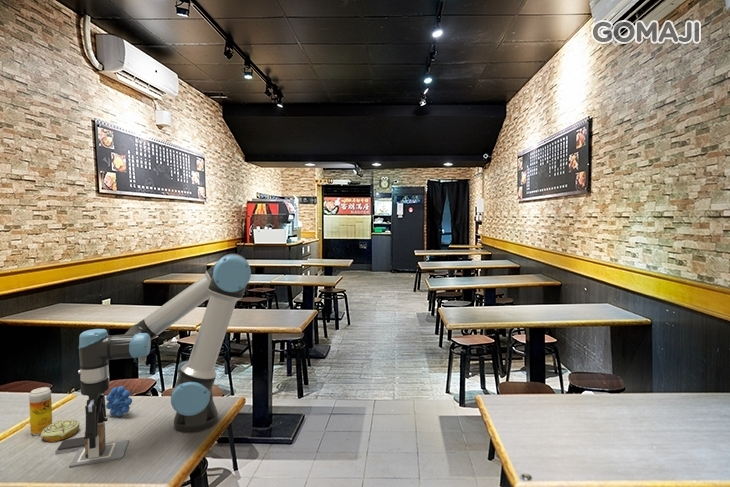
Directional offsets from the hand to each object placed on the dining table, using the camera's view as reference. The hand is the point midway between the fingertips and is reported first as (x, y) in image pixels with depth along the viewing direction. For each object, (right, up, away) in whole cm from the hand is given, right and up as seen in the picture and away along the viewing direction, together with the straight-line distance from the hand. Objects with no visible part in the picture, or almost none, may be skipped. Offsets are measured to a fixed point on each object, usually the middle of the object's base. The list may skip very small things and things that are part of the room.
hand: (97, 449), depth 132 cm
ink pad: (-11, -1, +5) cm, 12 cm away
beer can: (-29, -1, +15) cm, 33 cm away
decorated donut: (-21, -2, +13) cm, 25 cm away
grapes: (-8, -1, +27) cm, 29 cm away
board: (+1, -1, 0) cm, 2 cm away
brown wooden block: (0, -1, 0) cm, 1 cm away
